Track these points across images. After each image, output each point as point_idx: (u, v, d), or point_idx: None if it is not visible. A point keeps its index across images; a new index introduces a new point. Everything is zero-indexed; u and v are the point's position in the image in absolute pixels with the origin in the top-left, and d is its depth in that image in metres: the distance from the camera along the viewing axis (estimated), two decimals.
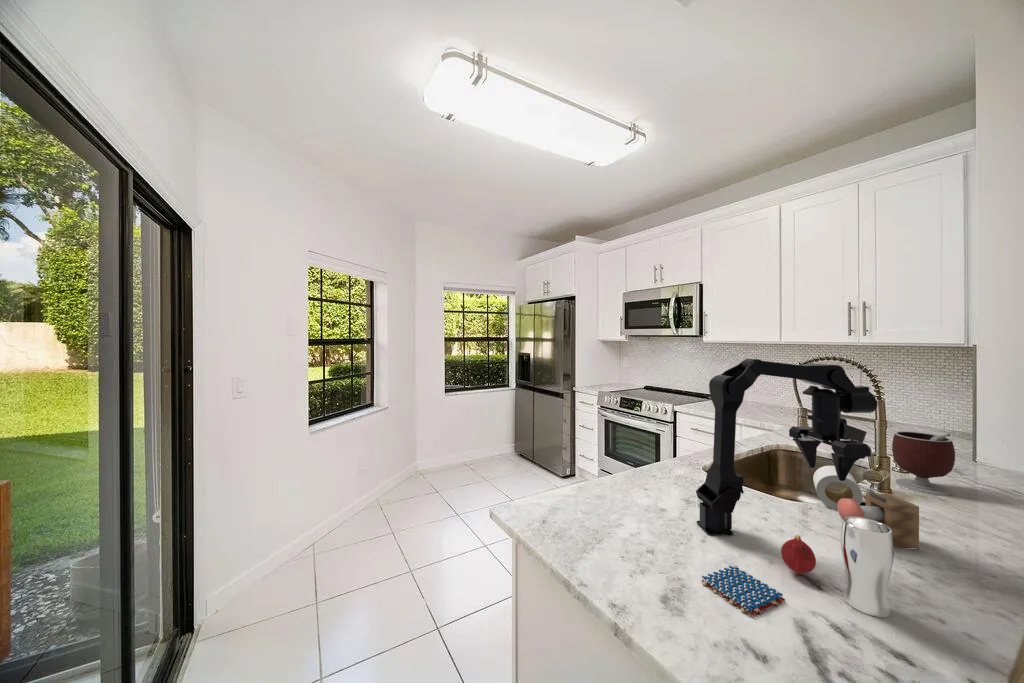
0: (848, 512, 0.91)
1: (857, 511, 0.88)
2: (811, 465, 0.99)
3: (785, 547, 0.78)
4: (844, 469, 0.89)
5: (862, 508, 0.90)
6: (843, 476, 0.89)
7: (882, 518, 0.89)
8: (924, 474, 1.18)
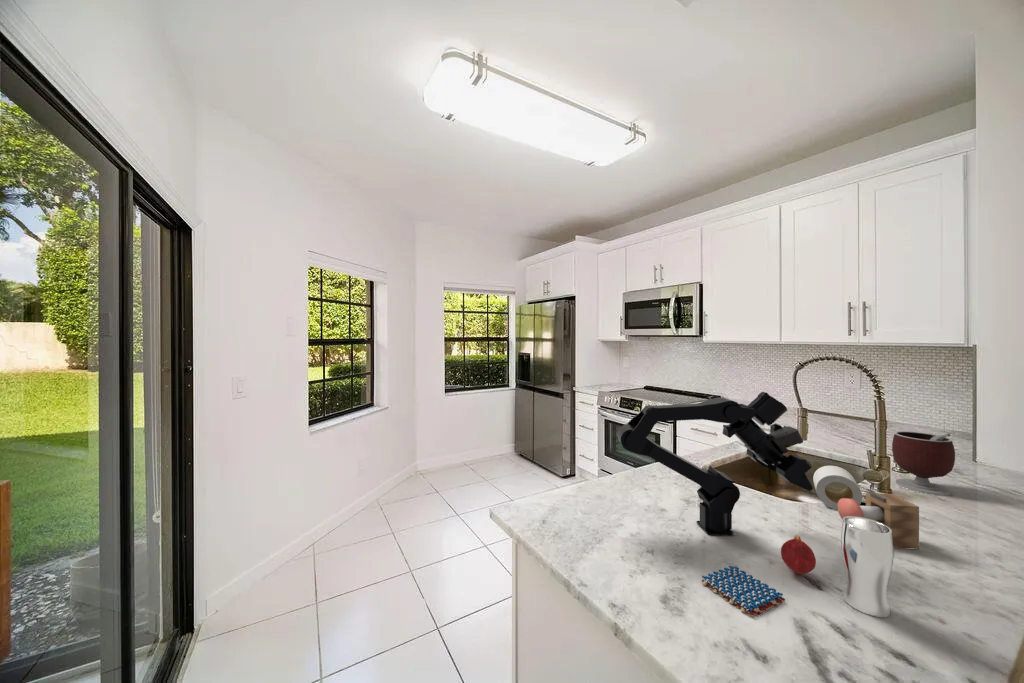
0: (848, 512, 0.91)
1: (857, 511, 0.88)
2: None
3: (785, 547, 0.78)
4: (803, 482, 0.88)
5: (862, 508, 0.90)
6: (808, 487, 0.88)
7: (882, 518, 0.89)
8: (924, 474, 1.18)
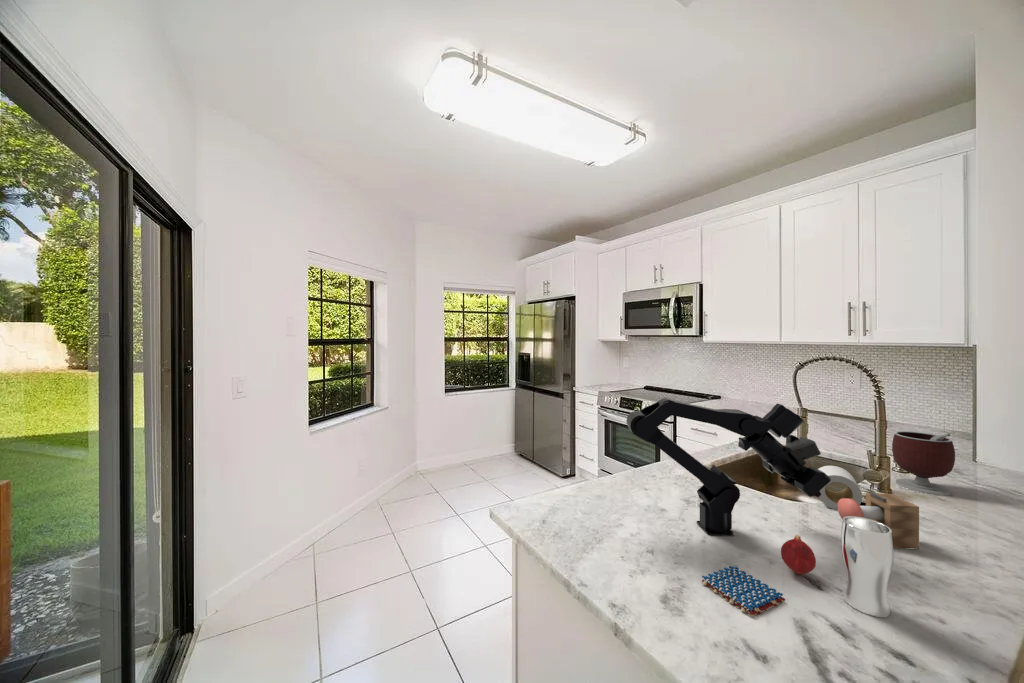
0: (848, 512, 0.91)
1: (857, 511, 0.88)
2: None
3: (785, 547, 0.78)
4: None
5: (862, 508, 0.90)
6: (817, 493, 0.91)
7: (882, 518, 0.89)
8: (924, 474, 1.18)
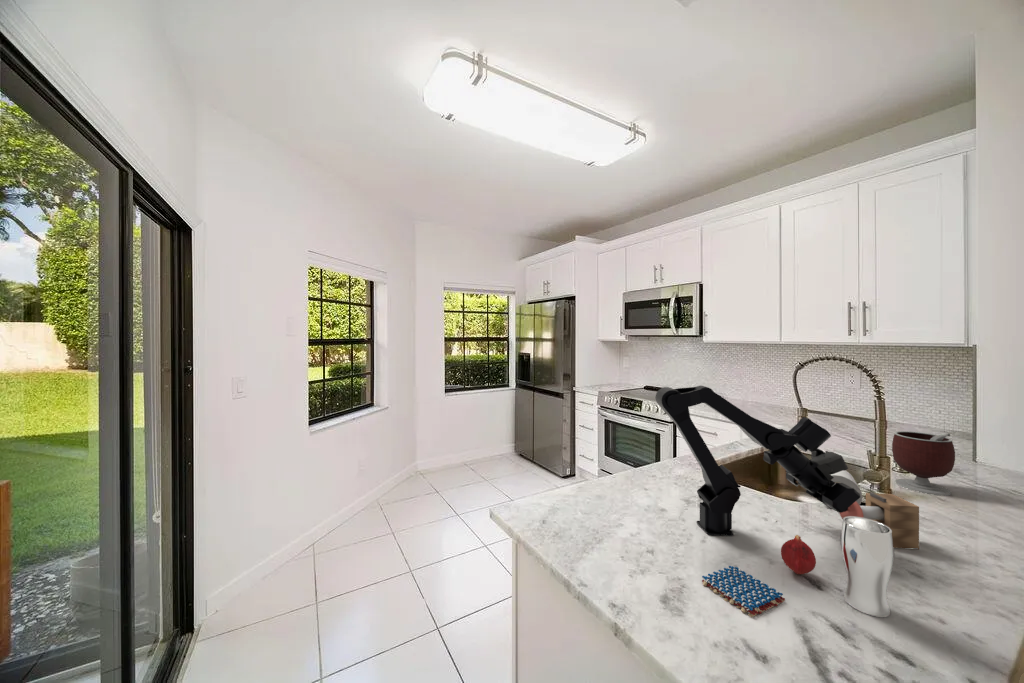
0: (848, 512, 0.91)
1: (857, 511, 0.88)
2: None
3: (785, 547, 0.78)
4: None
5: (862, 508, 0.90)
6: None
7: (882, 518, 0.89)
8: (924, 474, 1.18)
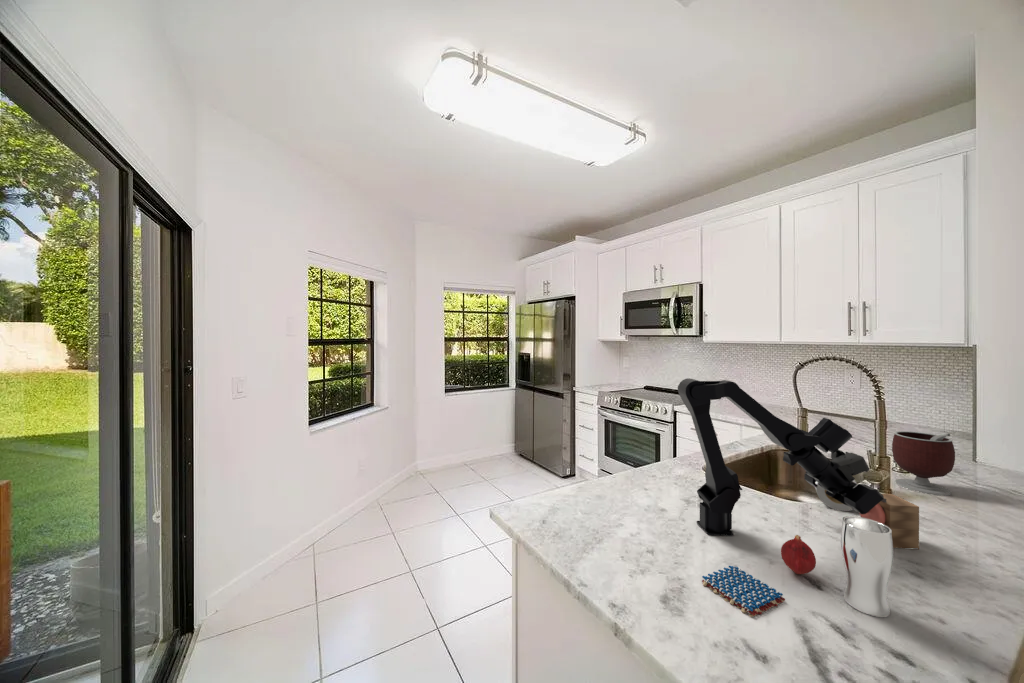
0: (870, 513, 0.90)
1: (879, 512, 0.88)
2: None
3: (785, 547, 0.78)
4: None
5: (884, 509, 0.89)
6: None
7: None
8: (924, 474, 1.18)
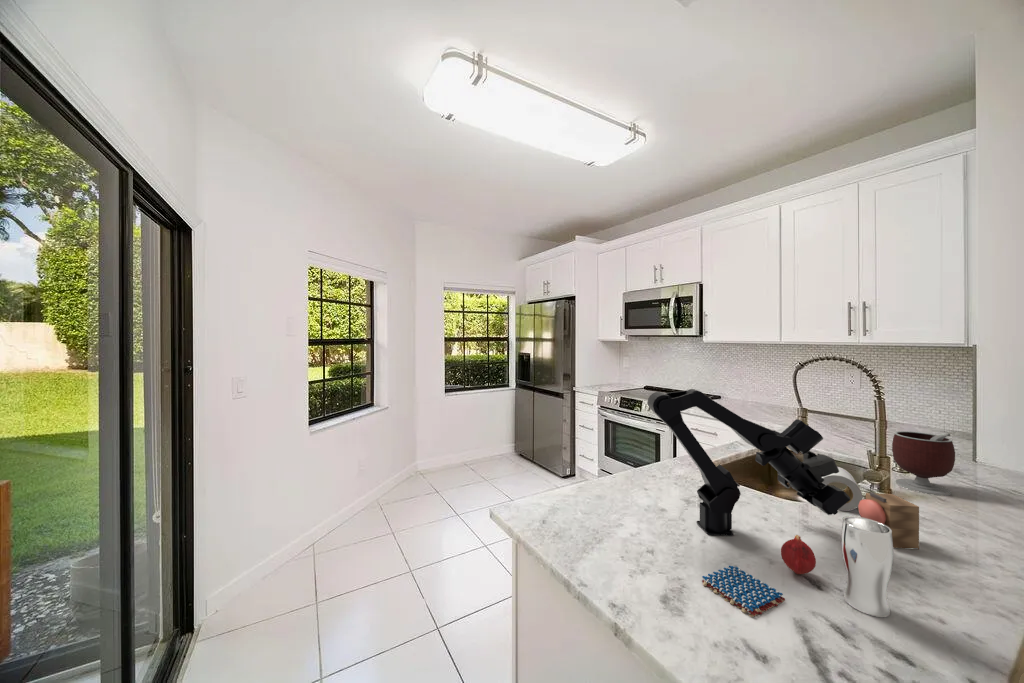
0: (870, 513, 0.90)
1: (879, 512, 0.88)
2: None
3: (785, 547, 0.78)
4: None
5: (884, 509, 0.89)
6: None
7: None
8: (924, 474, 1.18)
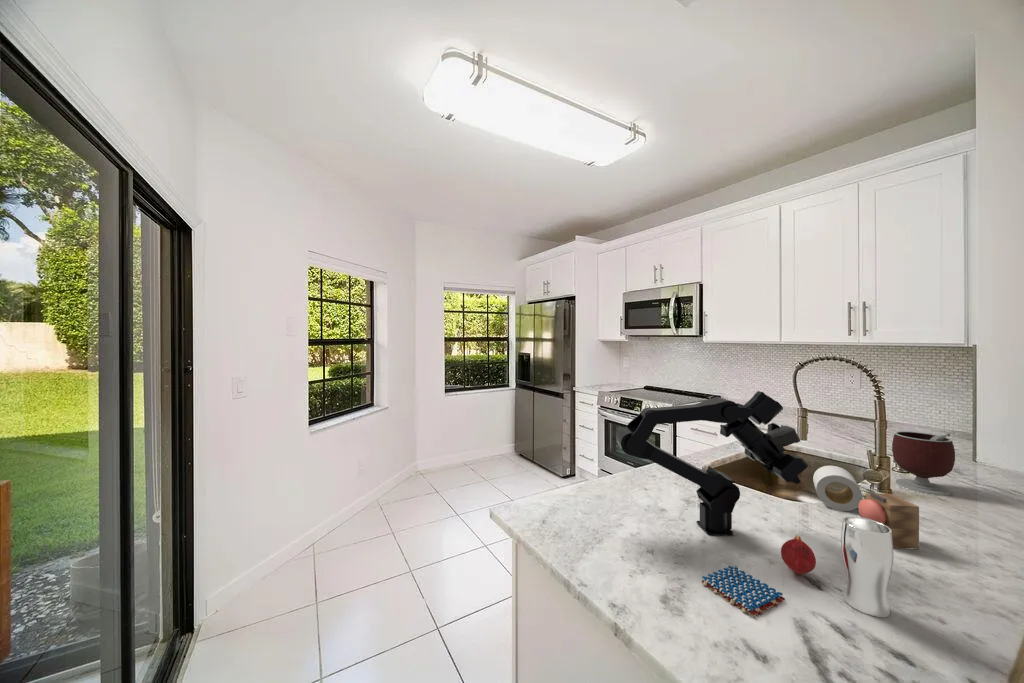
0: (870, 513, 0.90)
1: (879, 512, 0.88)
2: None
3: (785, 547, 0.78)
4: None
5: (884, 509, 0.89)
6: (796, 480, 0.92)
7: None
8: (924, 474, 1.18)
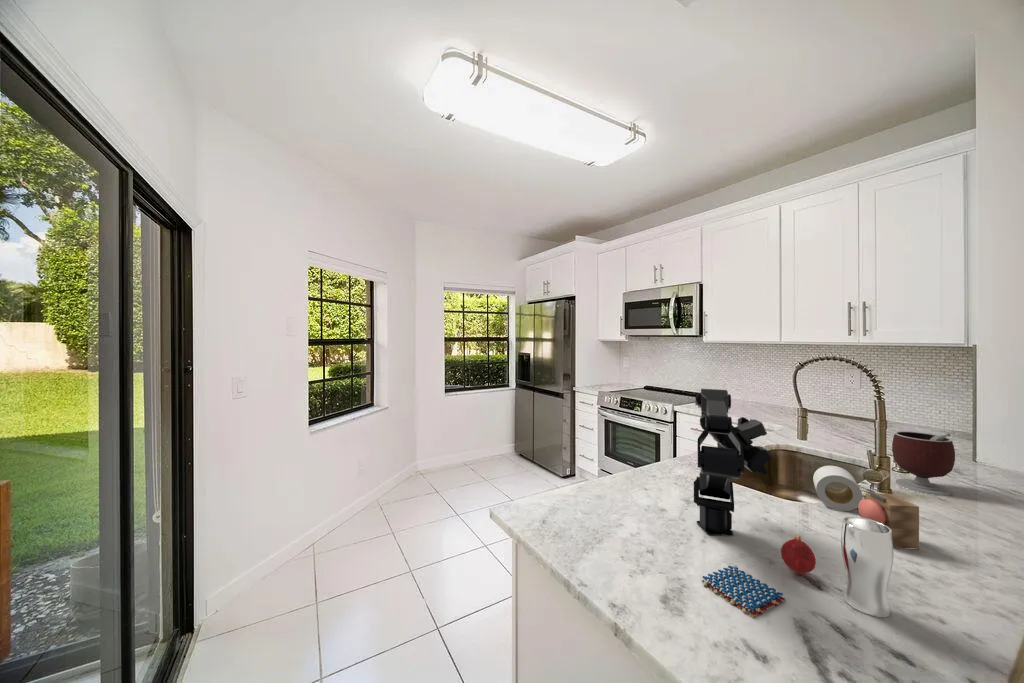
0: (870, 513, 0.90)
1: (879, 512, 0.88)
2: None
3: (785, 547, 0.78)
4: None
5: (884, 509, 0.89)
6: (763, 471, 0.97)
7: None
8: (924, 474, 1.18)
